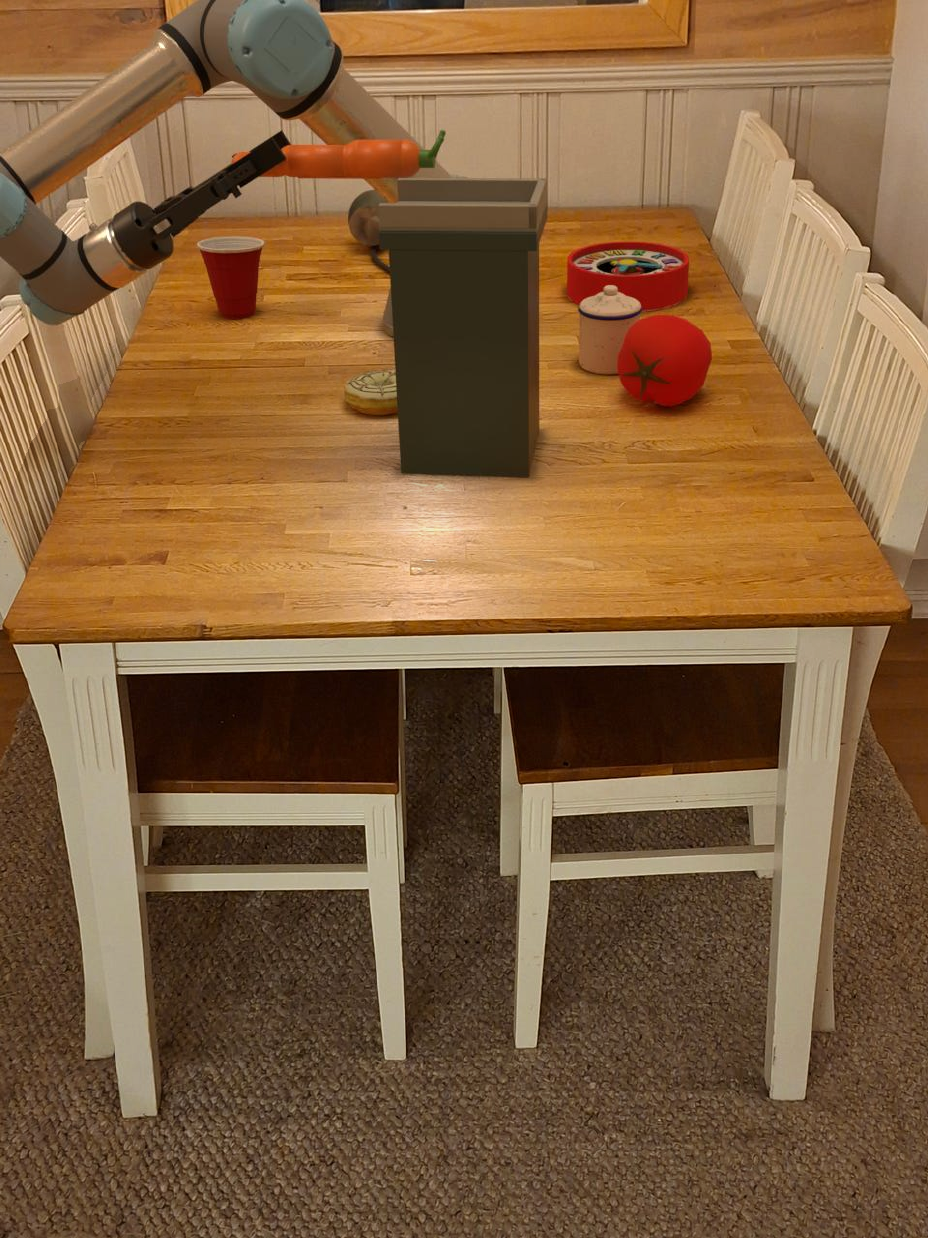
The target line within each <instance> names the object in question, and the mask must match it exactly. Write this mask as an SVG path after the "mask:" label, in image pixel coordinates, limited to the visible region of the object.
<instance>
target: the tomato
mask: <svg viewBox="0 0 928 1238" xmlns="http://www.w3.org/2000/svg"><path fill="white" fill-rule="evenodd" d="M712 360H713V352H712V345H711V342H710V340H709V338H708V337H707V335H706V334H705V332H704V330H702V329H701V328H699V327H698V326H697V325H696V324H693V322H690V321H689V320H687V319H686V318H684V317H680V316H676V315H673V314H653V315H649V316H646V317H642V318H640V320H639V321H637V322H635V323H634V324H633V325H632V326H631V327H630V328H629V330H628V332H627V334H626V336H625V339H624V342H623V345H622V348H621V350H620V352H619V354H618V362H617V368H618V373H619V374H618V376H619V381H620V384H621V385H622V387H623V388H624V389H625V390H626V392H627V394H629V395H630V397H632V399H634V400H638V401H640V402H643V403H656V404H657V405H659V406H662V407H663V406H665V407H671V408H672V407H673V408H674V407H676V406H677V405H680V404H682V403H685V402H686V401H689V400H691V399H692V398H693V397H694V396H696V394H697V393H698V392H699V391H700V390H701V389H702V388H703V386H704V384H705V381H706V378H707V375H708V372H709V370H710V369H709V368H710V366H711V362H712Z"/></svg>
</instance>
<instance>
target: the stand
mask: <svg viewBox="0 0 928 1238" xmlns="http://www.w3.org/2000/svg"><path fill="white" fill-rule="evenodd" d="M397 187H398V202H397V203H380V204H379V205H378V209H379V226H380V232H379V242H380V248H379V250H380V251H381V250H382V251H383V250H384V251H385V250H386V251H387V250H388V263H389V265H388V266H389V267H390V272H389V281H390V287H391V301H392V319H393V351H394V352H393V353H394V355H393V356H394V370H395V373H396V391H397V409H398V413H397V423H398V426H397V427H398V442H399V458H400V459H399V461H400V473H401V474H413V475H414V474H415V475H444V476H445V475H446V476H475V477H476V476H479V477H506V478H508V477H509V478H530V474H531V471H532V467H533V462H534V458H535V454H536V449H537V445H538V440H539V436H540V242H541V239H542V236H543V234H544V233H543V232H544V230H545V226H546V224H547V220H548V178H540V177H539V178H537V177H536V178H530V177H528V178H527V177H525V178H524V177H523V178H521V177H515V178H514V177H513V178H512V177H511V178H510V177H502V178H501V177H467V178H398V179H397Z"/></svg>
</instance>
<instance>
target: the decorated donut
mask: <svg viewBox="0 0 928 1238" xmlns="http://www.w3.org/2000/svg"><path fill="white" fill-rule="evenodd" d="M344 397H345V400H346V401H347V403H348V404H349V406H350V407H351V408H352V409H354V410H356V411H357V412H359V413H362V414H364V415H371V416H380V417H381V416H382V417H383V416H386V415H392V414H398V409H397V391H396V373H395V369H383V370H372V371H368V372H365V373H361V374H358V375H355V376H353V377H352V378H350V379H348V380H347V381H346V382H345V383H344Z"/></svg>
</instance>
